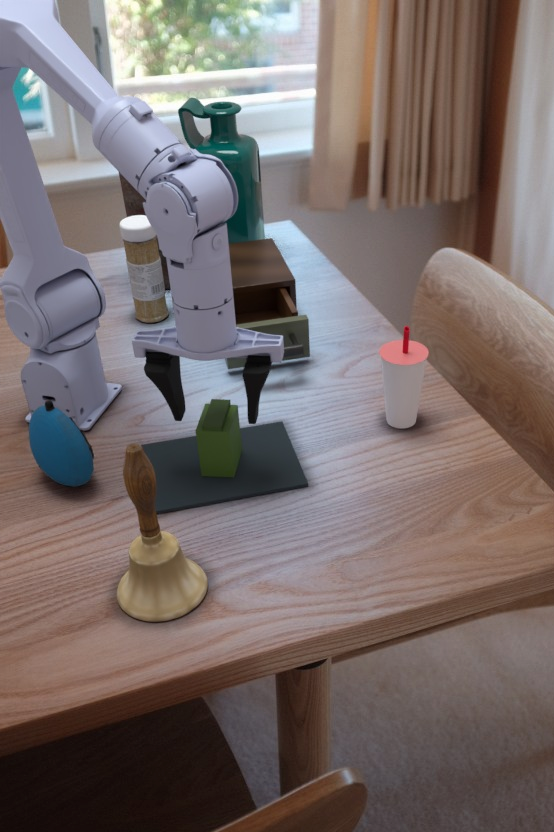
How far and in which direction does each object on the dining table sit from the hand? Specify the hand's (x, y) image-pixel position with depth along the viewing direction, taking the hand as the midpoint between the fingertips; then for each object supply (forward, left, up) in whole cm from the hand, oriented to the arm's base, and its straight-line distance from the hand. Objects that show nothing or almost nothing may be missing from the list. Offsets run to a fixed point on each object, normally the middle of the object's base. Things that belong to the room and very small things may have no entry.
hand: (216, 417), depth 93 cm
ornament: (-6, +15, -7) cm, 17 cm away
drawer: (+24, +3, -5) cm, 25 cm away
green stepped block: (0, 0, -6) cm, 6 cm away
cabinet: (+34, +9, -6) cm, 36 cm away
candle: (+41, +24, -7) cm, 48 cm away
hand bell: (-19, -1, -7) cm, 20 cm away
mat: (0, 0, -6) cm, 6 cm away
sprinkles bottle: (+30, +21, -7) cm, 37 cm away
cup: (+13, -17, -6) cm, 22 cm away
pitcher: (+51, +17, -6) cm, 54 cm away
